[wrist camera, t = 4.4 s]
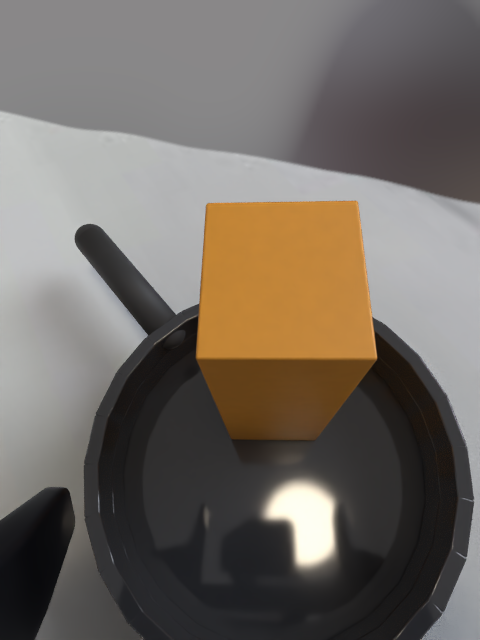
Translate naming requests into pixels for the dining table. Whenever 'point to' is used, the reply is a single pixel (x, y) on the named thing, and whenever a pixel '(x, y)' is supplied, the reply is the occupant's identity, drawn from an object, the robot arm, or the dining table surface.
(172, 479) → the pan
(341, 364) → the cheese
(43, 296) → the dining table surface
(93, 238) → the pan handle
